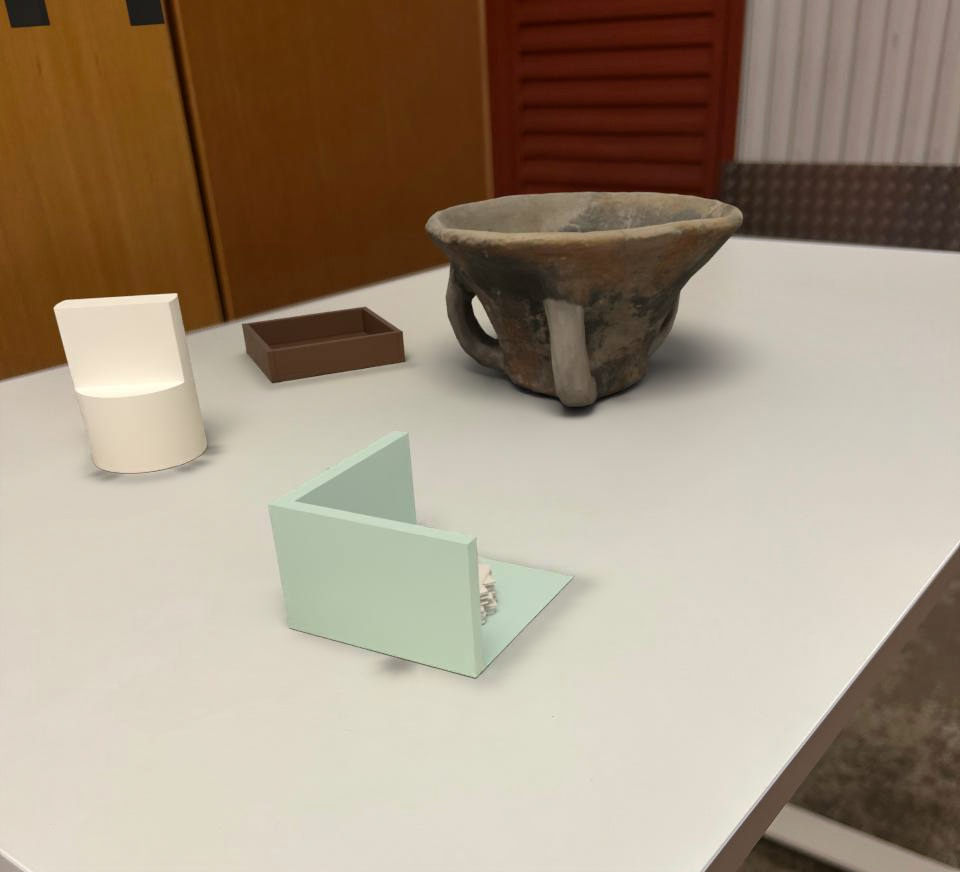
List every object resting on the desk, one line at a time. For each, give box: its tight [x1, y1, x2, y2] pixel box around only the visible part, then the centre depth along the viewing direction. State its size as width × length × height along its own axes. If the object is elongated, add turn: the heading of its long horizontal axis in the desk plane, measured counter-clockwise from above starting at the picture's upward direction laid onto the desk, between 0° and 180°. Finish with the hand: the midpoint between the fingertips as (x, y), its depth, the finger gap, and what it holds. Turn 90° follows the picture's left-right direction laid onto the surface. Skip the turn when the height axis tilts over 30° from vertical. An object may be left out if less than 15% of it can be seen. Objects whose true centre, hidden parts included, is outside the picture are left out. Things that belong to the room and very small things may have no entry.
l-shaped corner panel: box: [267, 430, 574, 679], centre depth 55 cm, size 12×12×8 cm
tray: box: [241, 306, 406, 384], centre depth 102 cm, size 14×13×3 cm
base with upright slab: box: [53, 292, 208, 474], centre depth 78 cm, size 9×9×12 cm
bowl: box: [424, 191, 744, 408], centre depth 89 cm, size 27×26×15 cm
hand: (93, 26), depth 73 cm, fingers open, 13 cm apart
